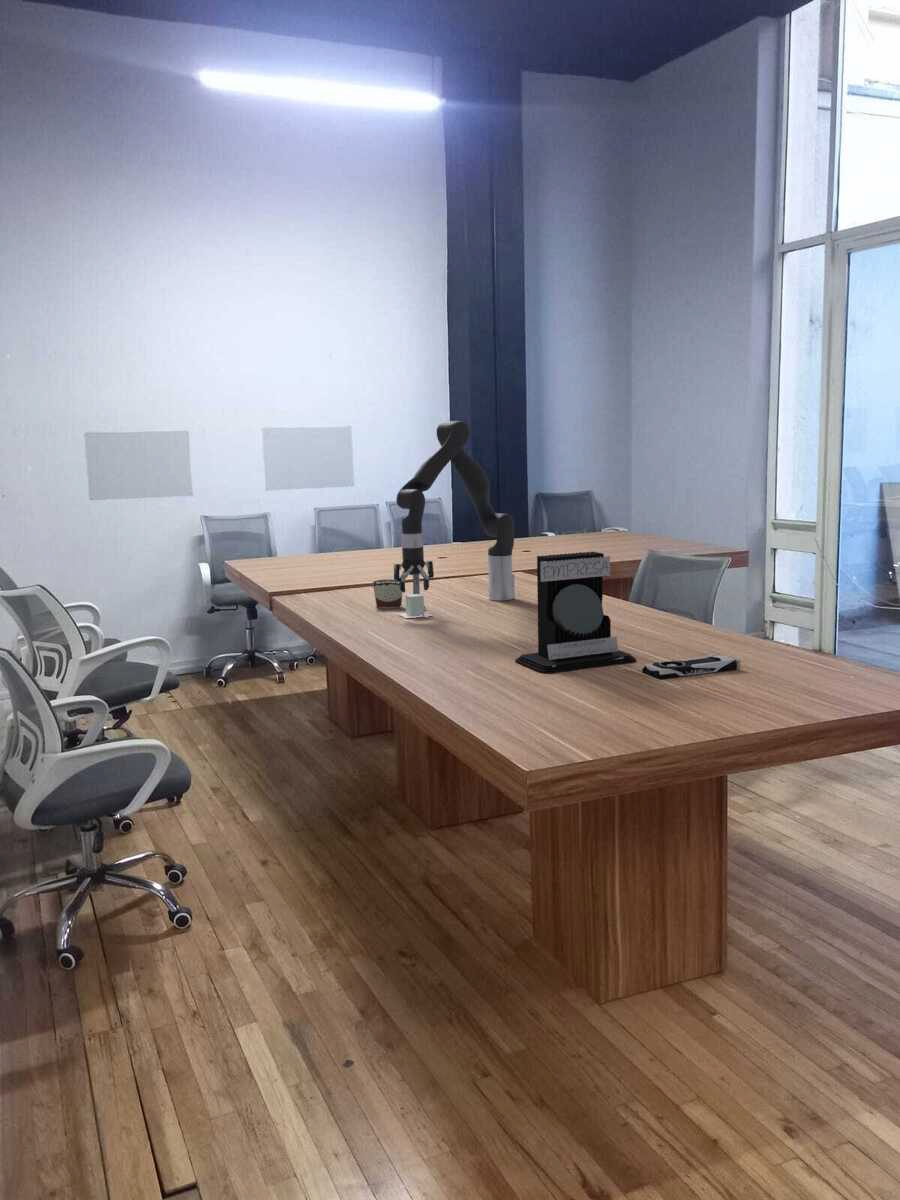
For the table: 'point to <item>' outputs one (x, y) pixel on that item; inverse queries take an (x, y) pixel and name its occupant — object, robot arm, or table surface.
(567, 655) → the award
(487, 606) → the table surface
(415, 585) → the metal post
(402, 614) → the pad
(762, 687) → the table surface
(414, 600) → the green block
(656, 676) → the graphics card
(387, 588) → the food container
